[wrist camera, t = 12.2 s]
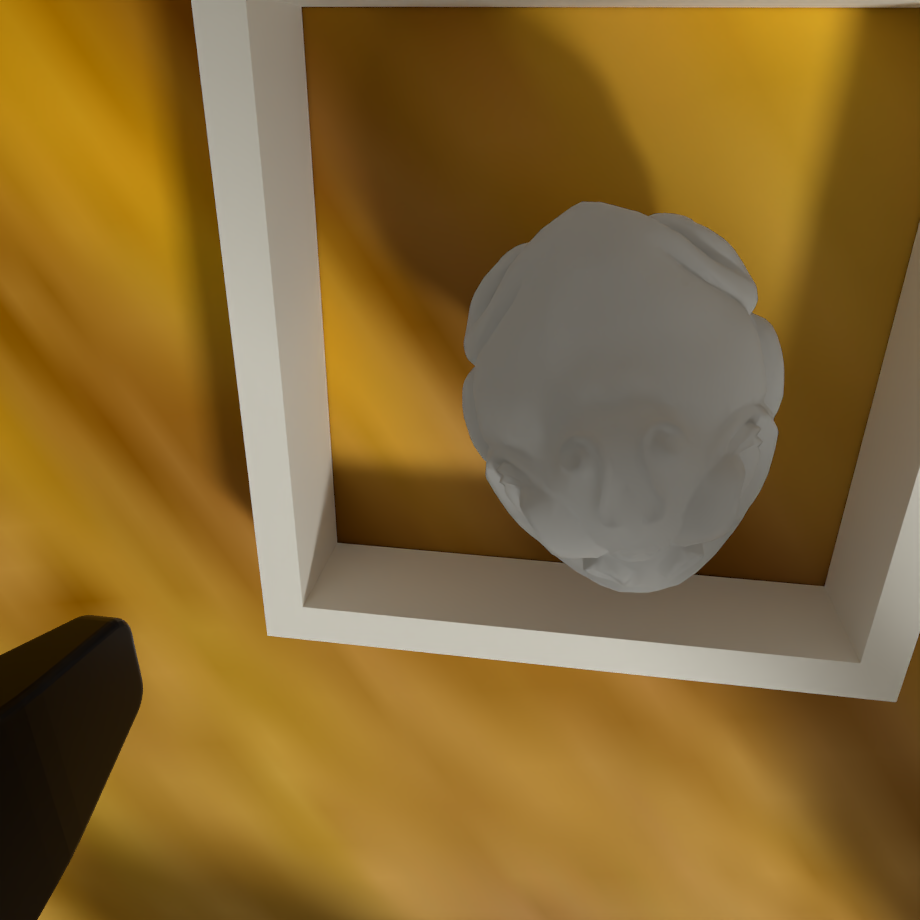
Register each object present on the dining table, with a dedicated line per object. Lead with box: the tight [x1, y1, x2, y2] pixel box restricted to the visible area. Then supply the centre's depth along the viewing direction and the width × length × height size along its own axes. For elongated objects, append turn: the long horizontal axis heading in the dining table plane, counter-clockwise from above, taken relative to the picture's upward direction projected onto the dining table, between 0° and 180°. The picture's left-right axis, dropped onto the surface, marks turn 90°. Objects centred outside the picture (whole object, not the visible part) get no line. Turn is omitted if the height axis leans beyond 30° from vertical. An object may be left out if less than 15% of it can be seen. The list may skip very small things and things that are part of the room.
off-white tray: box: [191, 0, 920, 702], centre depth 17 cm, size 15×15×3 cm
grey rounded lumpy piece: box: [462, 202, 784, 593], centre depth 15 cm, size 6×7×7 cm
